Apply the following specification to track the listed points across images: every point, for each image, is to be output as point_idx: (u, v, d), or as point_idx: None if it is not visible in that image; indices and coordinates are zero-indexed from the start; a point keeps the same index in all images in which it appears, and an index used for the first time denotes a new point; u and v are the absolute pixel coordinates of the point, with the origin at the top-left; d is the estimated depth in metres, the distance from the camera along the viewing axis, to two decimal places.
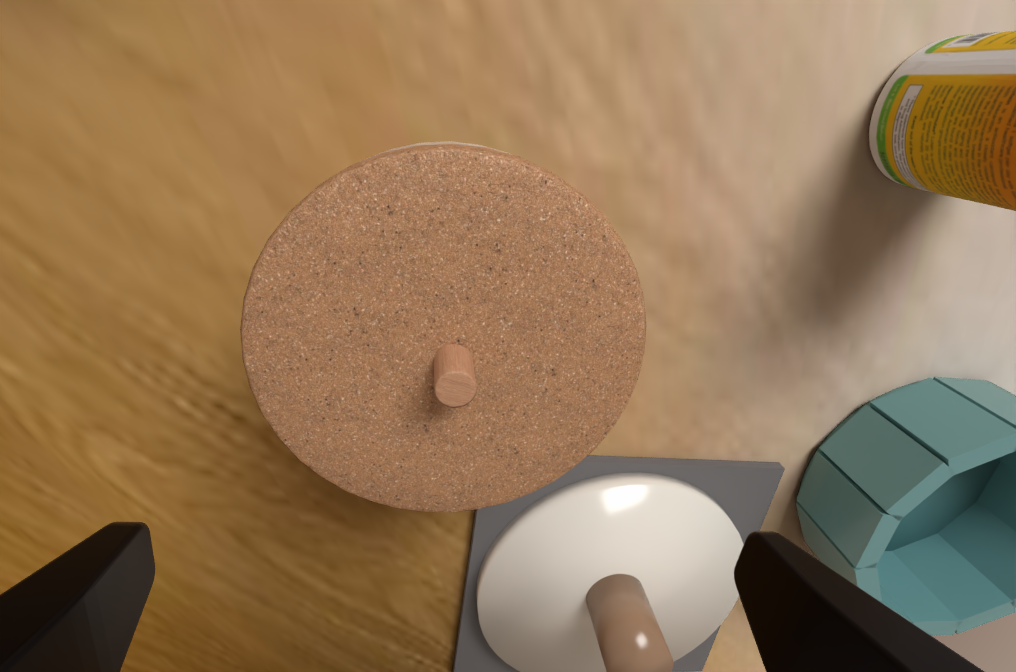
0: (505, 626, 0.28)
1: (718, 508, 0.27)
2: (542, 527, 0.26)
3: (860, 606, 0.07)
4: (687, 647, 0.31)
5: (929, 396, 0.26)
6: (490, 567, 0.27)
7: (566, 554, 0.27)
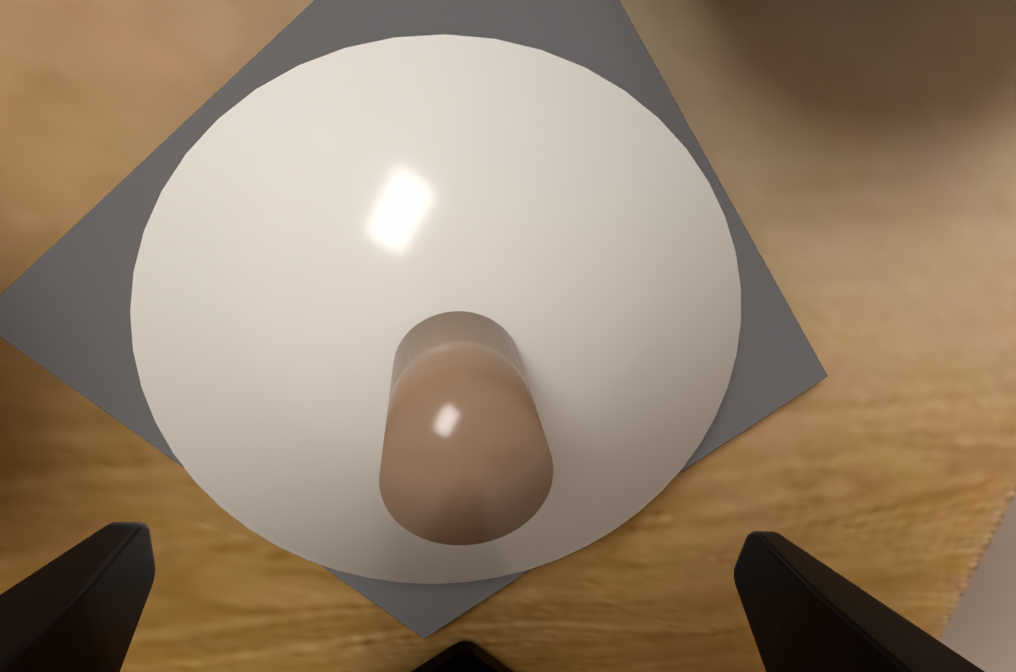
0: (352, 538, 0.15)
1: (432, 35, 0.10)
2: (167, 354, 0.12)
3: (860, 606, 0.07)
4: (720, 358, 0.14)
5: None
6: (194, 476, 0.14)
7: (275, 366, 0.13)
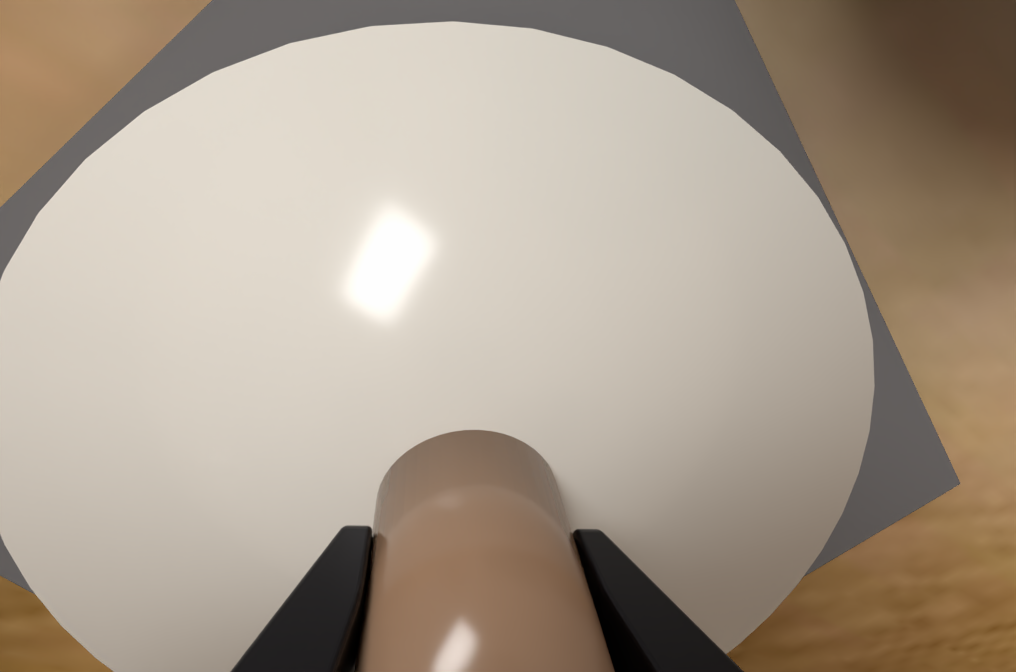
0: None
1: (431, 24, 0.06)
2: (39, 500, 0.08)
3: (648, 608, 0.07)
4: (835, 479, 0.10)
5: None
6: (95, 652, 0.10)
7: (202, 510, 0.09)
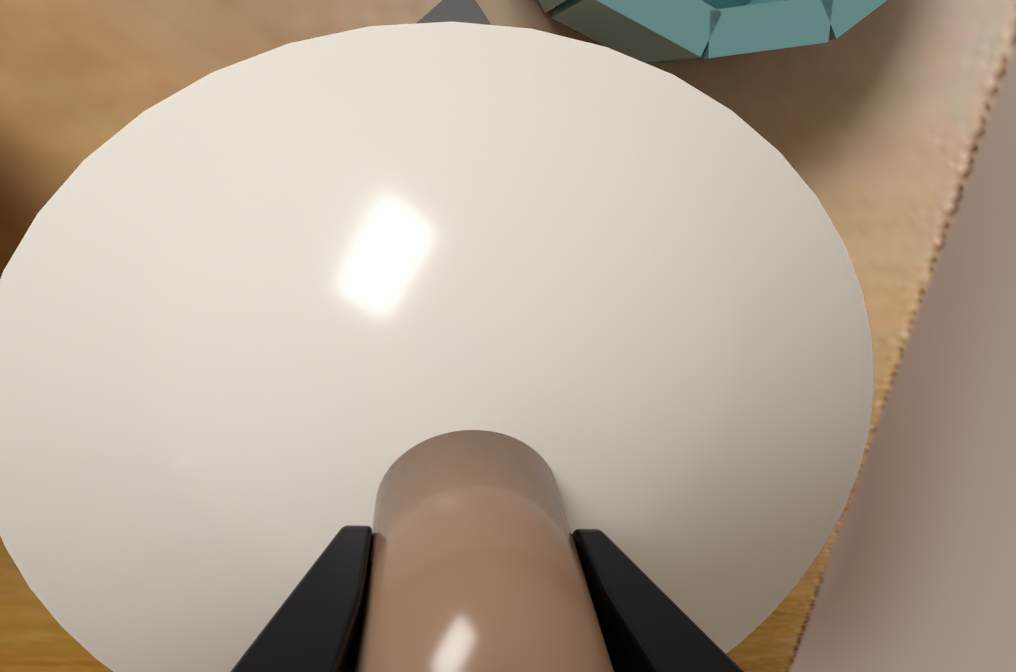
0: None
1: (430, 24, 0.06)
2: (38, 500, 0.08)
3: (648, 608, 0.07)
4: (835, 479, 0.10)
5: None
6: (95, 652, 0.10)
7: (202, 511, 0.09)
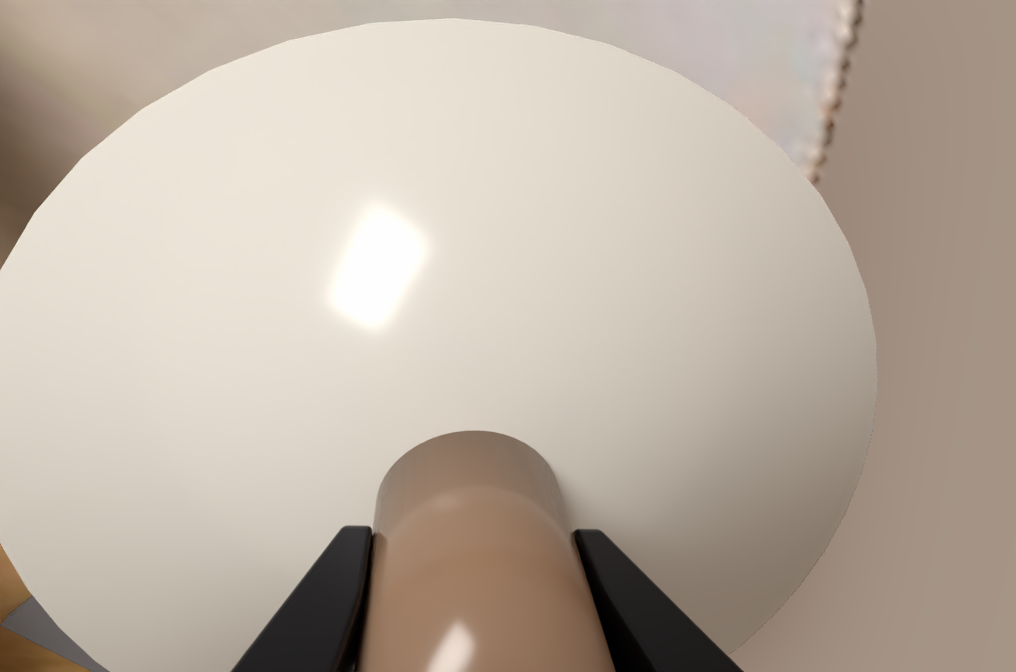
0: None
1: (431, 20, 0.06)
2: (36, 501, 0.08)
3: (648, 608, 0.07)
4: (838, 480, 0.10)
5: None
6: (93, 654, 0.09)
7: (201, 512, 0.09)
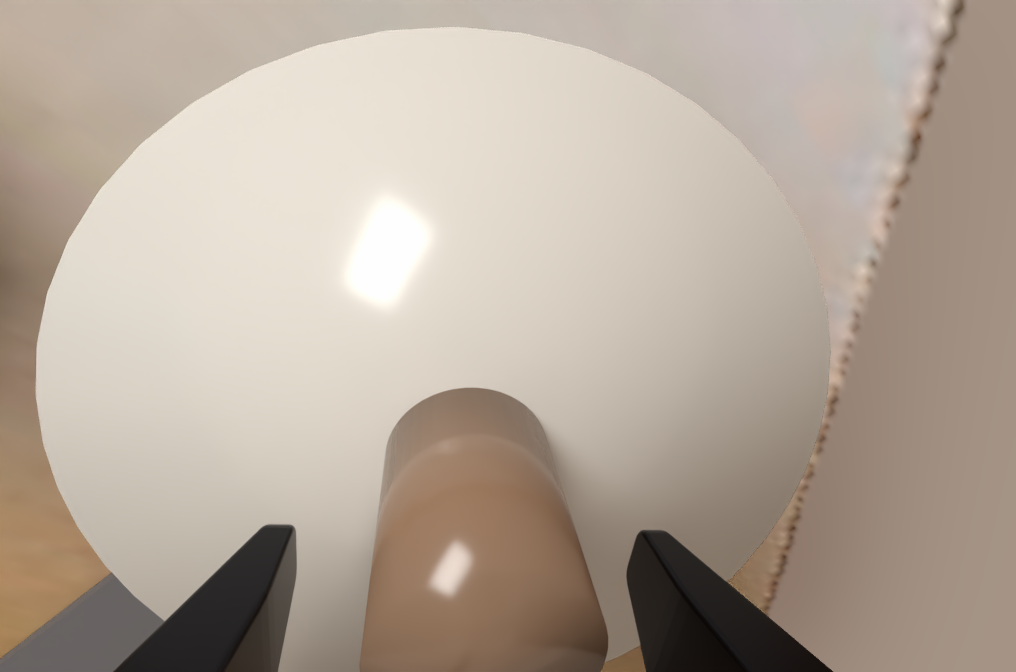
0: (336, 655, 0.12)
1: (436, 29, 0.07)
2: (89, 447, 0.09)
3: (727, 607, 0.07)
4: (798, 438, 0.11)
5: None
6: (133, 590, 0.11)
7: (232, 459, 0.10)
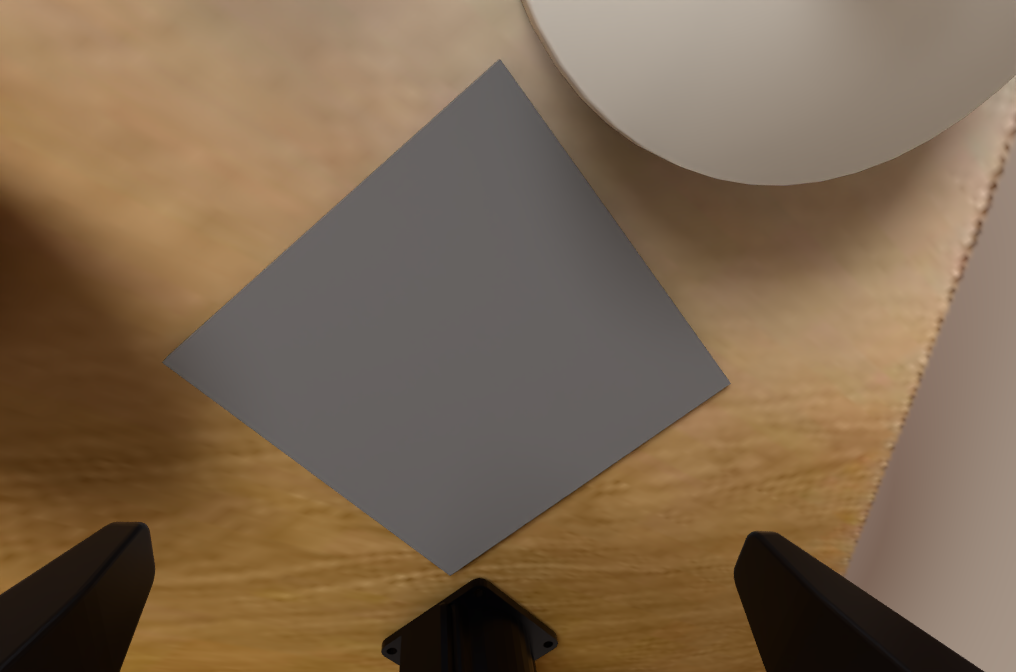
0: (678, 97, 0.12)
1: None
2: None
3: (860, 606, 0.07)
4: None
5: None
6: None
7: None
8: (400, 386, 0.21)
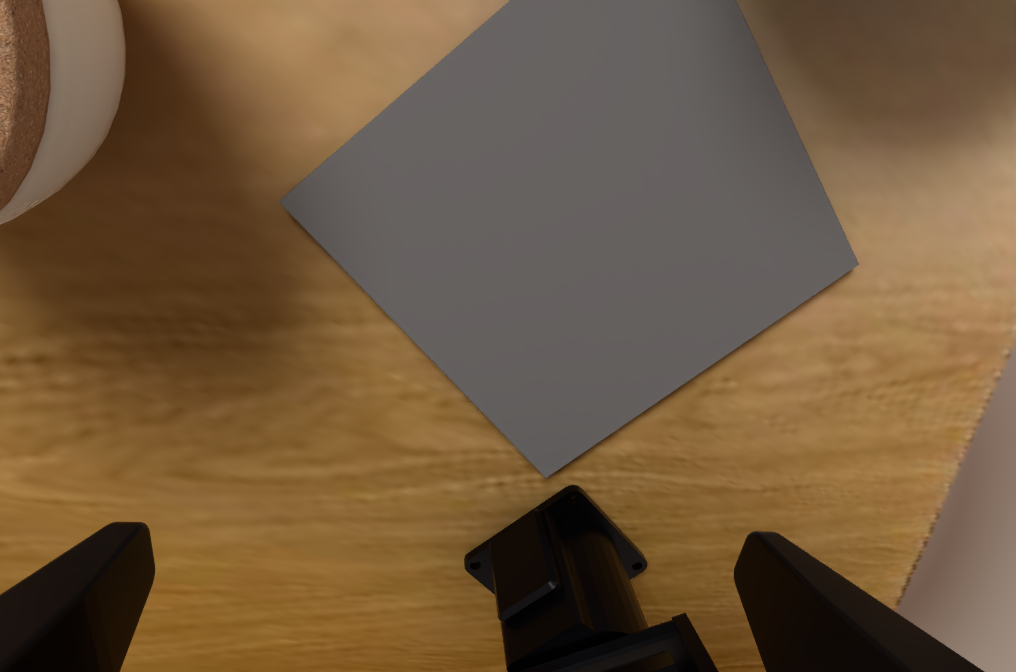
0: None
1: None
2: None
3: (860, 606, 0.07)
4: None
5: None
6: None
7: None
8: (522, 246, 0.20)
